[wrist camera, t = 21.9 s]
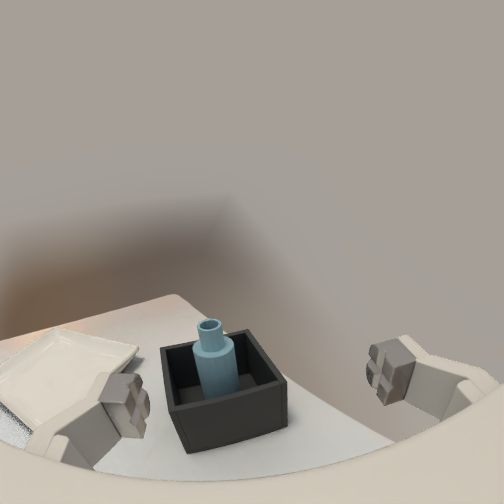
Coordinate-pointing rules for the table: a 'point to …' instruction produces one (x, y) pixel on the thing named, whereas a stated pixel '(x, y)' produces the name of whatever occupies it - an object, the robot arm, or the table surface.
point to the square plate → (57, 372)
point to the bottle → (215, 360)
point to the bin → (224, 397)
